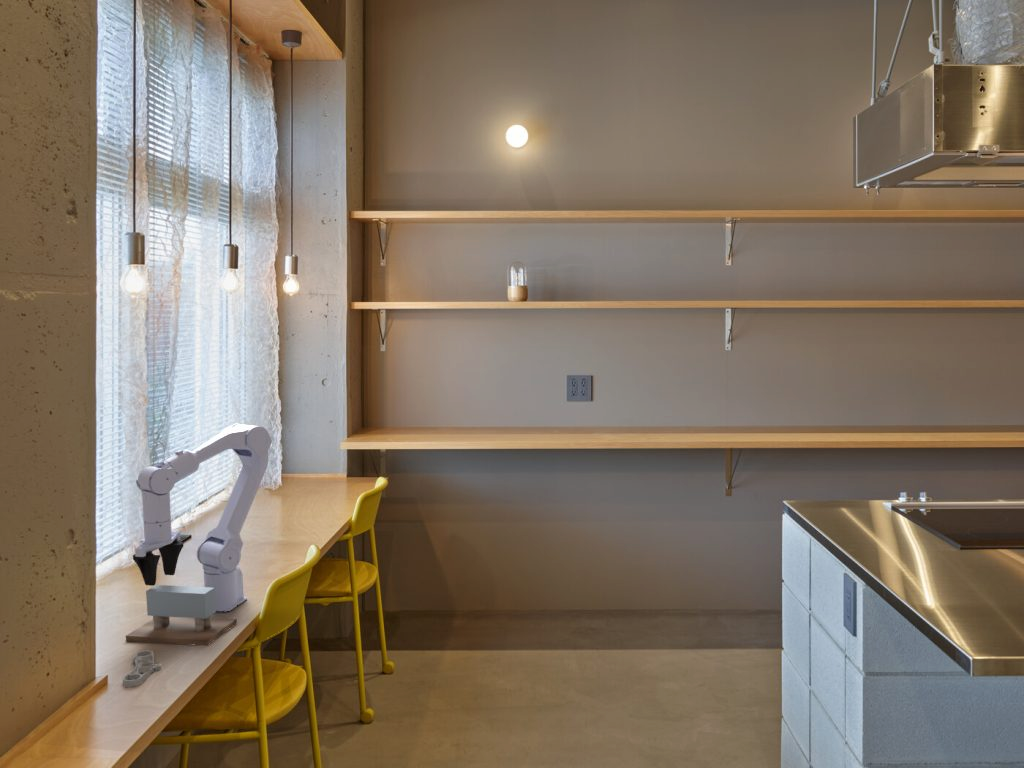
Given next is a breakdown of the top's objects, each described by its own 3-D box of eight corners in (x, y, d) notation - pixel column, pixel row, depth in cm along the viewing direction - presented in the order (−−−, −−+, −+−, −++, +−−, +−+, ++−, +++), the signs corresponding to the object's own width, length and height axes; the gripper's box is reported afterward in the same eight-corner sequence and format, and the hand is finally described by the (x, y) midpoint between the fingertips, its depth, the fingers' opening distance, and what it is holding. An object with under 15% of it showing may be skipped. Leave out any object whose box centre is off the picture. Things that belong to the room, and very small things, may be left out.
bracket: (101, 680, 173) (140, 648, 188) (102, 689, 173) (140, 657, 188) (139, 680, 173) (175, 648, 187) (140, 690, 173) (175, 657, 188)
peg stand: (160, 619, 209) (159, 601, 209) (236, 623, 205) (235, 605, 205) (126, 641, 196) (124, 622, 196) (206, 645, 193) (205, 626, 192)
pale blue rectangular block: (215, 611, 201) (214, 587, 201) (206, 618, 197) (204, 593, 197) (158, 608, 204) (156, 585, 203) (147, 615, 200) (145, 591, 199)
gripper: (159, 512, 212) (162, 569, 213) (121, 527, 197) (124, 588, 199) (187, 513, 210) (189, 570, 211) (150, 528, 196) (153, 590, 197)
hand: (160, 579), depth 205 cm, fingers open, 7 cm apart
